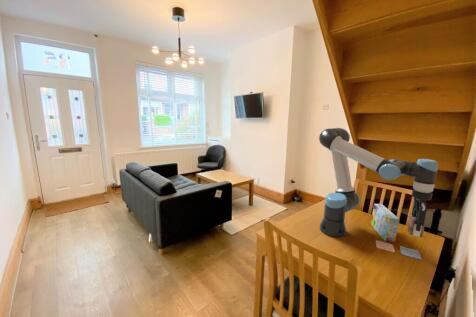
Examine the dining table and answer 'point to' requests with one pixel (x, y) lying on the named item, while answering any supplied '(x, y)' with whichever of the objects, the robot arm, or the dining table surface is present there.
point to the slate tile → (410, 252)
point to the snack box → (385, 223)
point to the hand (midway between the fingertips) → (414, 233)
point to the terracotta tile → (385, 246)
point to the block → (411, 226)
